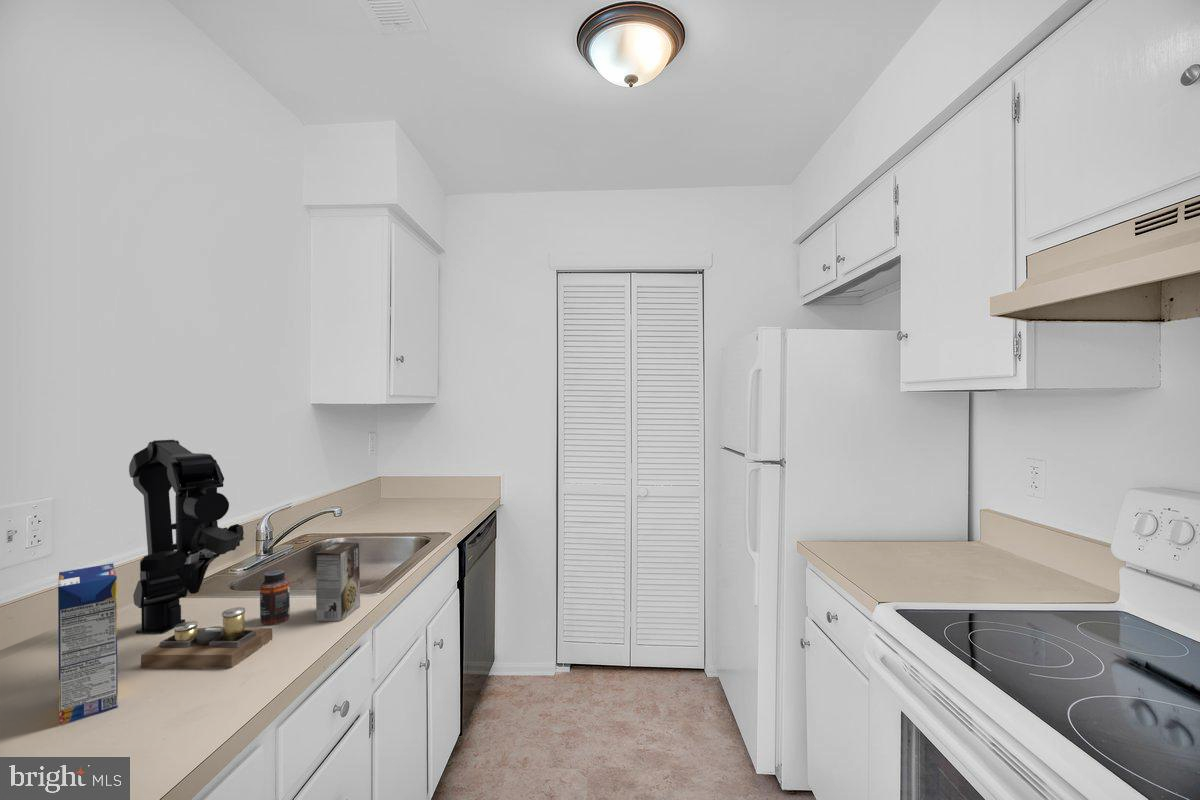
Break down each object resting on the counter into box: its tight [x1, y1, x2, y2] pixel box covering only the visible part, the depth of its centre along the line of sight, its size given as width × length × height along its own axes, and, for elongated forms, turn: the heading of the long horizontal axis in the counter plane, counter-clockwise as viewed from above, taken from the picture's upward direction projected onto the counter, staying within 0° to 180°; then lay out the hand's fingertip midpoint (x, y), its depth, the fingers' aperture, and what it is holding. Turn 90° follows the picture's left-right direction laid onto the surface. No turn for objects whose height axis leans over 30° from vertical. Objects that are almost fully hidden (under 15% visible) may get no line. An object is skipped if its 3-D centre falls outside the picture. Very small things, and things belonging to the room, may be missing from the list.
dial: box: [196, 625, 223, 645], centre depth 107 cm, size 5×4×2 cm
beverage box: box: [57, 563, 119, 726], centre depth 89 cm, size 7×11×22 cm, turn 45°
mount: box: [140, 627, 274, 669], centre depth 107 cm, size 18×12×4 cm, turn 88°
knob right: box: [221, 606, 246, 641], centre depth 107 cm, size 4×4×6 cm
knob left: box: [173, 620, 199, 641], centre depth 107 cm, size 4×4×6 cm
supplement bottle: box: [259, 569, 291, 626], centre depth 123 cm, size 6×6×11 cm
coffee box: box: [314, 541, 361, 622], centre depth 127 cm, size 9×6×16 cm
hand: (194, 593), depth 107 cm, fingers closed
